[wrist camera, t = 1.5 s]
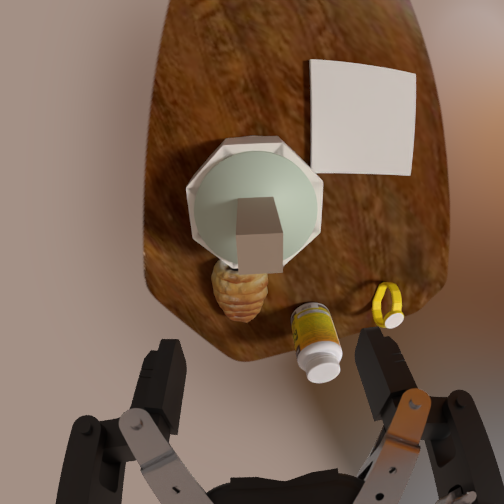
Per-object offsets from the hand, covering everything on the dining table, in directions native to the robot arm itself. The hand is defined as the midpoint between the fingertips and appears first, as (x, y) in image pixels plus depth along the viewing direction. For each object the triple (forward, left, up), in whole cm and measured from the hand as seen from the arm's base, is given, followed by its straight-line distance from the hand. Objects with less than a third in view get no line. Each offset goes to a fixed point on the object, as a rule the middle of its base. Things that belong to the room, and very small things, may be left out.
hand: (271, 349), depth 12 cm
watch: (+15, +17, -22) cm, 31 cm away
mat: (-8, +12, -22) cm, 26 cm away
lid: (0, 0, -16) cm, 16 cm away
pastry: (+12, -2, -22) cm, 25 cm away
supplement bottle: (+18, +7, -22) cm, 29 cm away
